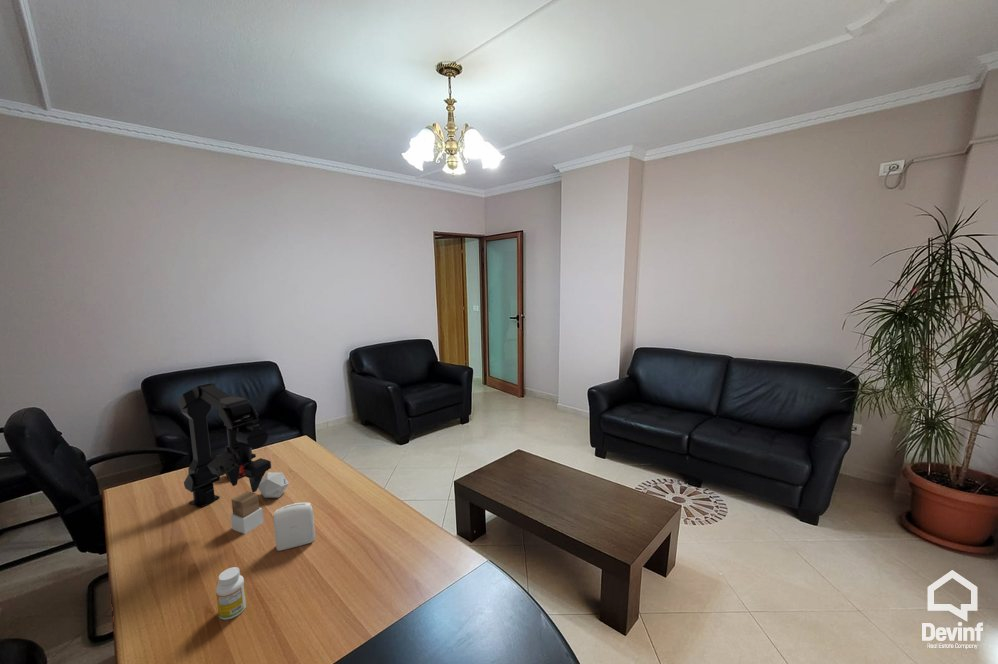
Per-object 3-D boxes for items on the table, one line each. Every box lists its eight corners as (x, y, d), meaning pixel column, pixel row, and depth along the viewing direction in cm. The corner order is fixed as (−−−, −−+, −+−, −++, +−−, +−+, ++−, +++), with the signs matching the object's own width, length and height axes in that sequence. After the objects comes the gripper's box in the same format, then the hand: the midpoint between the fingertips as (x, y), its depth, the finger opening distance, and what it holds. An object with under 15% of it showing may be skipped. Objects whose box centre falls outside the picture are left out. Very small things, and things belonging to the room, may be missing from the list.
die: (267, 507, 130) (285, 481, 132) (246, 493, 131) (265, 467, 133) (280, 502, 139) (298, 477, 140) (261, 488, 139) (278, 464, 141)
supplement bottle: (228, 601, 92) (224, 565, 90) (251, 600, 92) (247, 564, 91) (213, 621, 86) (208, 583, 85) (238, 619, 87) (234, 581, 86)
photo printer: (274, 553, 108) (271, 513, 106) (276, 543, 112) (273, 505, 110) (315, 543, 112) (312, 504, 110) (315, 534, 116) (312, 497, 114)
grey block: (232, 529, 118) (230, 514, 117) (251, 518, 124) (249, 503, 123) (244, 534, 116) (243, 519, 115) (263, 522, 121) (262, 508, 121)
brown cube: (232, 514, 118) (231, 499, 117) (248, 505, 122) (247, 490, 121) (243, 518, 116) (242, 502, 115) (259, 508, 120) (258, 494, 120)
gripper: (191, 446, 112) (197, 495, 114) (232, 457, 105) (238, 510, 107) (230, 432, 122) (234, 477, 124) (270, 441, 115) (274, 489, 117)
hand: (244, 488), depth 118 cm, fingers open, 9 cm apart
